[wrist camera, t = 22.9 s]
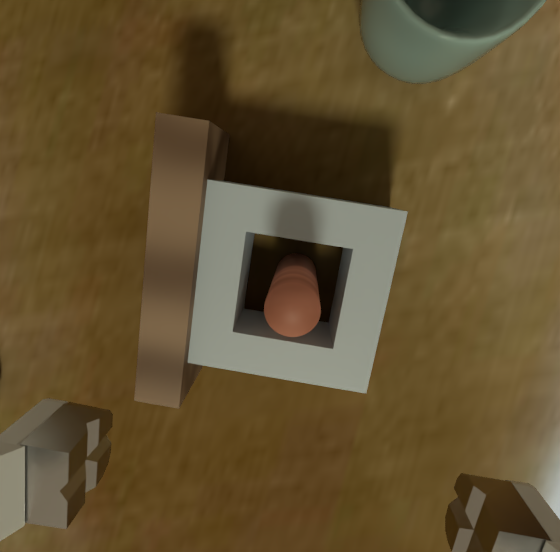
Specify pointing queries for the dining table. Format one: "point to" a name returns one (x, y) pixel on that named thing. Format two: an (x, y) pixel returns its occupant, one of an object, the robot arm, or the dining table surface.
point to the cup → (437, 33)
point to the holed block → (252, 324)
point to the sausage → (293, 297)
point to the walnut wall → (174, 253)
